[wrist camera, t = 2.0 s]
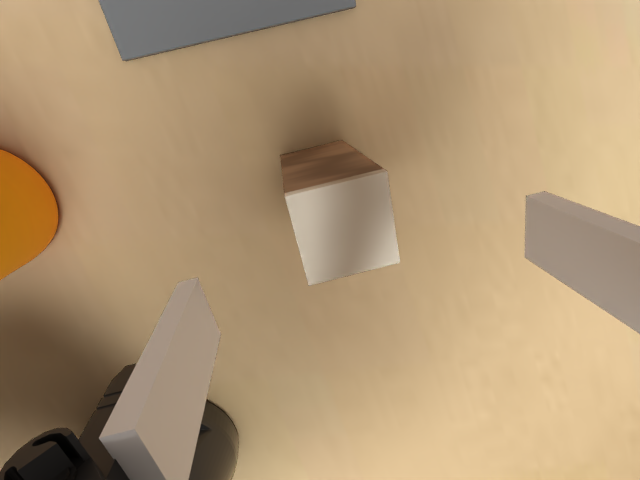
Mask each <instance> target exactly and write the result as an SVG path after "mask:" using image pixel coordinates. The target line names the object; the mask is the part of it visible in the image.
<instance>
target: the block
mask: <svg viewBox="0 0 640 480" xmlns="http://www.w3.org/2000/svg"><path fill="white" fill-rule="evenodd" d="M280 158H281V167H282V176H283V185H284V195H285V199H286V203H287V207H288V211H289V214H290V218H291V222H292V226H293V229H294V233H295V237H296V240H297V244H298V248H299V252H300V255H301V259H302V263H303V266H304V270H305V274H306V278H307V281H308V285H309V286H310V285H314V284H318V283H322V282H326V281H330V280H334V279H338V278H342V277H346V276H350V275H354V274H357V273H361V272H365V271H369V270H373V269H377V268H381V267H385V266H389V265H393V264H397V263H400V257H399V250H398V243H397V236H396V229H395V222H394V215H393V208H392V201H391V194H390V187H389V179H388V172H387V171H386V170H385V169H383V168H382V167H380V166H379V165H378V164H376V163H375V162H373V161H372V160H370V159H369V158H367V157H366V156H364V155H363V154H362V153H360V152H359V151H357V150H356V149H354V148H353V147H351V146H350V145H348V144H347V143H346V142H344V141H343V140H341V141H337V142H333V143H329V144H324V145H320V146H316V147H312V148H308V149H304V150H300V151H296V152H292V153H287V154H283V155H280Z"/></svg>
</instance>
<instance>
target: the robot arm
mask: <svg viewBox="0 0 640 480" xmlns="http://www.w3.org/2000/svg"><path fill="white" fill-rule="evenodd" d="M525 258H526V259H528V260H529V261H531V262H532V263H534V264H535V265H537V266H538V267H540V268H541V269H543V270H544V271H546V272H547V273H549V274H550V275H552V276H553V277H555V278H556V279H558V280H559V281H561V282H562V283H564V284H565V285H567V286H568V287H570V288H571V289H573V290H574V291H576V292H577V293H579V294H580V295H582V296H583V297H585V298H587V299H588V300H590V301H591V302H593V303H594V304H596V305H597V306H599V307H600V308H602V309H603V310H605V311H606V312H608V313H609V314H611V315H612V316H614V317H615V318H617V319H618V320H620V321H621V322H623V323H624V324H626V325H627V326H629V327H630V328H632V329H633V330H635V331H636V332H638V333H639V334H640V226H637V225H635V224H632V223H629V222H627V221H624V220H621V219H619V218H616V217H613V216H610V215H608V214H605V213H602V212H600V211H597V210H594V209H591V208H589V207H586V206H583V205H581V204H578V203H575V202H572V201H570V200H567V199H564V198H562V197H559V196H556V195H553V194H551V193H548V192H545V191H544V192H540V193H536V194H532V195H528V196H526V215H525ZM220 336H221V333H220V330H219V328H218V325H217V323H216V320H215V318H214V316H213V313H212V311H211V308H210V306H209V304H208V301H207V299H206V296H205V294H204V291H203V289H202V287H201V284H200V282H199V279H198V277H197V278H193V279H189V280H185V281H181V282H178V283H177V285H176V287H175V289H174V291H173V293H172V295H171V297H170V299H169V301H168V303H167V305H166V307H165V309H164V311H163V313H162V315H161V317H160V319H159V321H158V323H157V325H156V327H155V329H154V331H153V333H152V335H151V336H150V338H149V340H148V342H147V344H146V346H145V348H144V350H143V352H142V354H141V356H140V358H139V360H138V362H137V363H136V364H132V365H128V366H125V367H124V369H123V370H122V371H121V372H120V373H119V374H118V375H117V376H116V377H115V378H114V379H113V380H112V381H111V383H110V385H109V387H108V388H107V390H106V392H105V394H104V398H102V399H101V401H100V403H99V404H98V406H97V411H94V413H93V415H92V417H91V419H90V420H89V422H88V424H87V426H86V427H85V429H84V431H83V433H82V434H81V436H80V438H79V440H78V439H77V438H76V436H75V435H74V433H73V432H72V431H70V430H69V429H68V428H56V429H53V430H50V431H47V432H45V433H43V434H41V435H39V436H37V437H36V438H34V439H32V440H31V441H29V442H28V443H27V444H25V445H24V446H23V447H22V448H20V449H19V450H18V451H17V452H16V453H15V454H14V455H13V456H12V457H11V458H10V459H9V460H8V461H7V462H6V463H5V465H4V467H3V468H2V470H1V471H0V480H231V479H232V477H233V475H234V472H235V468H236V464H237V455H238V444H239V441H238V434H237V431H236V428H235V426H234V424H233V423H232V421H231V420H230V419H229V417H228V416H227V415H226V414H225V413H224V412H223V411H222V410H220V409H219V408H218V407H216V406H215V405H213V404H211V403H209V402H207V401H206V399H207V395H208V390H209V386H210V381H211V377H212V372H213V368H214V363H215V359H216V354H217V350H218V345H219V341H220Z"/></svg>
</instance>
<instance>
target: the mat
mask: <svg viewBox="0 0 640 480" xmlns="http://www.w3.org/2000/svg"><path fill="white" fill-rule="evenodd" d="M99 3H100V5H101V8H102V10H103V13H104V15H105V18H106V20H107V23H108V25H109V28H110V30H111V33H112V35H113V38H114V40H115V43H116V45H117V48H118V50H119V53H120V55H121V58H122V60H123V61H129V60H133V59H138V58H142V57H146V56H150V55H155V54H159V53H163V52H168V51H172V50H176V49H180V48H185V47H189V46H193V45H198V44H202V43H206V42H210V41H215V40H219V39H223V38H228V37H232V36H236V35H240V34H245V33H249V32H253V31H258V30H262V29H266V28H270V27H275V26H279V25H283V24H288V23H292V22H296V21H300V20H305V19H309V18H313V17H318V16H322V15H326V14H330V13H335V12H339V11H343V10H348V9H352V8H355V7H356V2H355V0H99Z"/></svg>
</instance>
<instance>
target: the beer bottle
mask: <svg viewBox="0 0 640 480" xmlns="http://www.w3.org/2000/svg"><path fill="white" fill-rule="evenodd" d="M57 225H58V207H57V204H56V200H55V197H54V195H53V193H52V191H51V189H50V187H49V186H48V184H47V183H46V182H45V180H44V179H43V178H42V177H41V176H40V175H39V174H38V173H37V171H36V170H35V169H34V168H32V167H31V166H30V165H28V164H27V163H26V162H24V161H23V160H21V159H20V158H18V157H16V156H14V155H13V154H11V153H9V152H6V151H4V150H1V149H0V280H1V279H3V278H4V277H6V276H7V275H9V274H10V273H12V272H13V271H15V270H17V269H18V268H20V267H22V266H23V265H25V264H26V263H28V262H30V261H31V260H32V259H34V258H35V257H36V256H37V255H38V254H40V253H41V252H42V251H43V250H44V249H45V248H46V247H47V245H48V244H49V243H50V241H51V240H52V239H53V237H54V235H55V232H56V230H57Z"/></svg>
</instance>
